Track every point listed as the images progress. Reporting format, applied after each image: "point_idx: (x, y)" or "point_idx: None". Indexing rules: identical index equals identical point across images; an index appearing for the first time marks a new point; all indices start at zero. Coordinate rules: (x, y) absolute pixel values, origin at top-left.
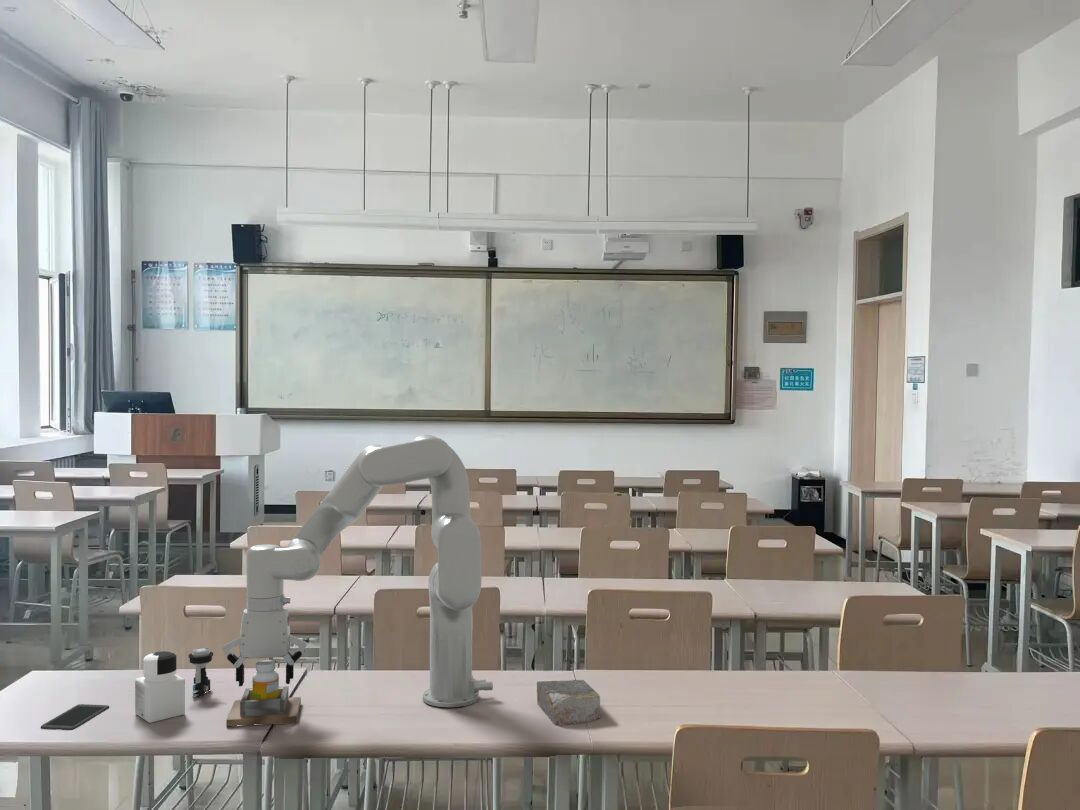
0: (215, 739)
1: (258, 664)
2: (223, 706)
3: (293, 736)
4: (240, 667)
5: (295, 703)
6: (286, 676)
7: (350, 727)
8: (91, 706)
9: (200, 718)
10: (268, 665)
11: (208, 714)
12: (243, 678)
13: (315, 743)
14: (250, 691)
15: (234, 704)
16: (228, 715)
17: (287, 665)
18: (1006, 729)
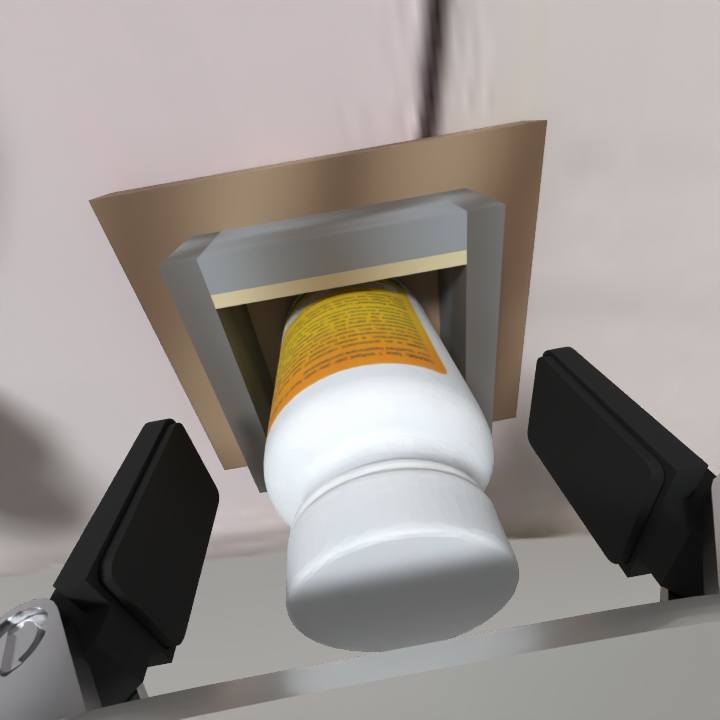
0: (247, 526)
1: (335, 640)
2: (17, 170)
3: (494, 490)
4: (152, 656)
5: (511, 258)
6: (561, 482)
7: (688, 419)
8: None
9: (36, 368)
10: (451, 637)
11: (33, 314)
12: (183, 480)
13: (556, 520)
14: (224, 305)
15: (140, 282)
16: (205, 430)
17: (636, 567)
18: None
